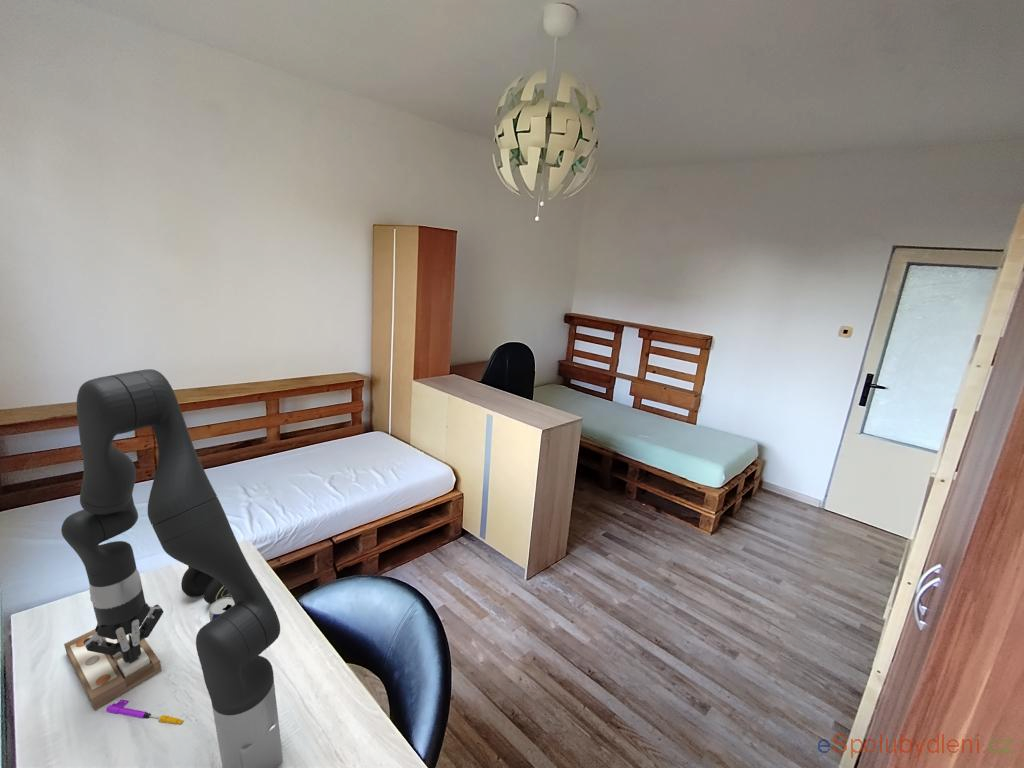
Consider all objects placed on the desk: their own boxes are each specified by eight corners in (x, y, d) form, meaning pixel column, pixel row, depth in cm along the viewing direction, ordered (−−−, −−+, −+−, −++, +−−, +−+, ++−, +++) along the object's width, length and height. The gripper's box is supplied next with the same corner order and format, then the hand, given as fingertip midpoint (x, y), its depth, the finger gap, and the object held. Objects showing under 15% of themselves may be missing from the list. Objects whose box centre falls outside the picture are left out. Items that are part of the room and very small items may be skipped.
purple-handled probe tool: (104, 713, 87) (179, 727, 86) (105, 707, 87) (180, 722, 86) (118, 702, 90) (190, 716, 89) (118, 697, 90) (191, 711, 89)
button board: (161, 670, 96) (159, 658, 95) (94, 710, 87) (91, 697, 86) (129, 623, 107) (126, 611, 106) (66, 654, 98) (63, 642, 97)
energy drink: (229, 659, 100) (223, 617, 96) (209, 653, 101) (202, 611, 97) (247, 640, 105) (242, 599, 101) (228, 634, 106) (222, 594, 102)
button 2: (151, 668, 95) (149, 658, 94) (126, 683, 92) (124, 672, 91) (144, 657, 97) (141, 647, 96) (119, 671, 94) (117, 660, 93)
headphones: (205, 577, 122) (195, 515, 116) (248, 591, 119) (240, 528, 113) (174, 599, 114) (162, 533, 109) (220, 615, 111) (209, 548, 105)
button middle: (138, 646, 98) (136, 635, 98) (114, 659, 95) (111, 648, 94) (131, 636, 101) (129, 626, 100) (108, 648, 97) (105, 638, 96)
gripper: (78, 623, 81) (97, 693, 86) (164, 583, 92) (176, 647, 97) (66, 603, 85) (85, 671, 90) (150, 566, 96) (163, 629, 101)
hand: (132, 658), depth 94 cm, fingers closed
